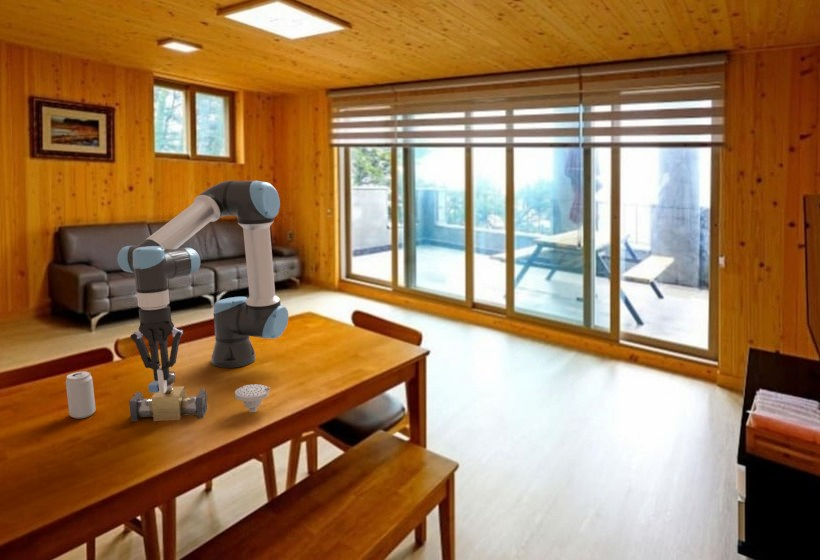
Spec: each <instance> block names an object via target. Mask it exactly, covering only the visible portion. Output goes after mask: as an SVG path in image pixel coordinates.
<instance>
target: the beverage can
mask: <svg viewBox="0 0 820 560" xmlns="http://www.w3.org/2000/svg"><path fill="white" fill-rule="evenodd" d="M65 387H66V388H65V389H66V396H67V405H68V413H69V416H70V417H71V418H73V419H77V420H79V419H85V418H88V417H91V416H92V415H93V414H94V413H95V412H96V410H97V409H96V401H95V393H94V391H95V390H94V381H93V376H92V375H91V372H89V371H77V372H72V373H70V374H68V375H66V379H65Z"/></svg>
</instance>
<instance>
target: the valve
mask: <svg viewBox="0 0 820 560" xmlns="http://www.w3.org/2000/svg"><path fill="white" fill-rule="evenodd" d="M182 397H186V389H185V386H174V383H171V384H167V391H166V392H165V393H161V394H160V392H158V393H155V392H153V394H152V396H151V399H152V408H153V419H152V420H153V422H162V421H163V422H165V421H180V420H181V419H182V417H183V416H184V415H182V414H181V409H180V405H181V399H182Z"/></svg>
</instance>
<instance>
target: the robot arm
mask: <svg viewBox="0 0 820 560" xmlns="http://www.w3.org/2000/svg"><path fill="white" fill-rule="evenodd" d="M279 196H280V195H279V193H278V190H277V189H276V188H275V187H274V185H272V184H271V183H270V182H268V181H267V182H266V181H260V180H224V181H222V182H219V183H217V184H215V185H213V186H211V187H209V188H207V189H206V190H204V191H202V192H201V193H200V194H198V195H197V196H196V197H195V198H194V199H193V203H191V205H189V206H188V207H187V208H185V209H184V210H183V211H181V212H180V213H179V214H177V215H176V216H175V217H174V218H172V219H171V220H169V221H168V222H166V224H164V225H163V226H161V227H160V228H159V229H158V230H156V231H154V232H153V233H152V234H151V235H150V236H149V237H147V238H145V240H143V241H141V242H140V243H139V244H138V245H126V246H123V247H122V248H121V249H120V250H119V252H118V254H117V264H118V266H119V268H120V269H121V270H122V271H123V272H126V273H131V274H132V273H133V275H134V281H135V289H136V298H137V306H138V307H139V309H138V318H139V327H138V330H136V331H134V332H133V333H132V334H131V335H130V339H131V340H132V341H133V342H134V343H135V346H136V349H137V351H138V354H139V355H140V357H141V361H142V363H143V365H144V367H145V369H151V370H152V372H153V379H154V380H155V381H158V383H159V392H160V394H161V393H165V392H166V391H167V381H166V380H168V379H169V377H170V373H169V371H170V368H172V367H174V366H175V364H176V362H177V358H178V351H179V346H180V340H181V337H182V335H183V334H184V330H183V329H178V328H176V327H175V325H174V323H173V321H172V313H171V312H172V311H171V306H170V302H171V301H170V294H169V291H170V290H169V283H168V281H170V280H174V279H177V278H178V279H179V278H181V277H186V276H187V277H188V276H189V275H192V274H195V273H196V272H198V270H199V269H200V267H201V257H200V255H199V253H198V252H197V251H196V250H195V249H194V248H192V247H181V246H182V245H184V244H185V243H186V242H188V241H189V240H190V239H191V238H192V237H193V236H195V235H196V234H197V233H198V232H199V231H200V230H202V229H203V228H204V227H206V225H208V224H209V223H210V222H212V223H213V222H214V223H215V222H217V221H218V220H219V219H220V218H224V217H231V216H232V217H237V219H236V221H237V225H239V226H240V227H241V228H242V229H243V230H242V231H243V242H244V251H245V252H244V254H245V261H246V272H247V281H248V295H249V297H246V296H234V297H232V296H231V297H227V298H223V299H219V300H217V301H215V303H213V324H214V336H215V337H214V339H215V343H214V346H213V350H212V353H211V357H210V358H211V364H212V365H213V366H215V367H217V368H226V369H227V368H228V369H231V368H232V369H233V368H240V367H244V366H247V365H251V364H252V363H254V362H255V360H256V352H255V350H254V347H253V344H252V342H251V340H250V337H253V338H262V339H265V340H267V339H273V340H274V339H278V338H279V337H281V336H282V335H283V333H284V332H285V330H286V328H287V326H288V322H289V311H288V309H287V307H286V306H284V305H281V298H280V297H279V296H278V295H277V294H276V287H275V286H276V285H275V275H274V264H273V263H274V262H273V252H272V250H273V249H272V239H271V228H270V227H271V226H272V224H273V223H274V221H275V217H277V216H278V214H279V212H280V208H281V201H280V197H279ZM171 333H172V343H171V348H170V355H169V348H168V338H169V336H170V335H171ZM143 336H144V338H145V339H146V340H147V341H148V346H149V350H148V348H147V345H146V343H145V341H144V338H143ZM149 352H150V353H149ZM159 352H160V356H159ZM154 380H153V381H154Z"/></svg>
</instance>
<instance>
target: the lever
mask: <svg viewBox="0 0 820 560" xmlns="http://www.w3.org/2000/svg"><path fill="white" fill-rule="evenodd" d="M169 373H170V377H169V379H168V380H166V381H167V384H171V383H172V384H174V383H176V372H175V371H171V370H169ZM147 386H148V392H149V393H158V392H159V383H158V381H155V380H153V381H152V382H150V383H149V384H148V385H147Z"/></svg>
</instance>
